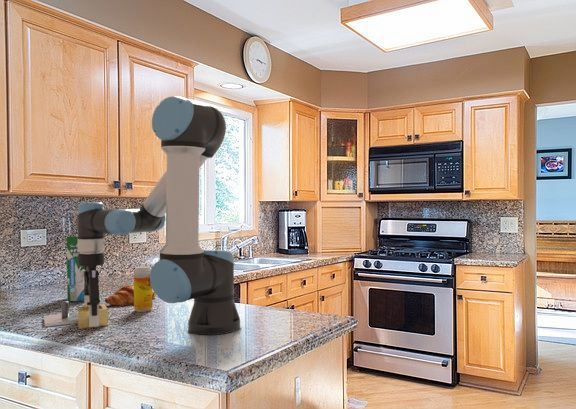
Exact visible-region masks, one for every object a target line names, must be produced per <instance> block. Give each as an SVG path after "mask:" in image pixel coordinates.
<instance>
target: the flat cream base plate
mask: <svg viewBox="0 0 576 409" xmlns="http://www.w3.org/2000/svg"><path fill="white" fill-rule="evenodd" d="M60 304H61V313H56V314H48V315H43V324H44V328H46V327H55V326H64V325H65V326H66V325H72V324H73V325H74V324H77V311H75V312H74V311H73V312H70V302H69V301H68V300H63V301H61V303H60Z"/></svg>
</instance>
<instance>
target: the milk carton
mask: <svg viewBox="0 0 576 409" xmlns="http://www.w3.org/2000/svg"><path fill="white" fill-rule="evenodd" d="M79 253H80V252H78V235H75V236H66V277H67V278H66V282H67V284H66V287H67V289H66V291H67V294H66V295H67V301H75V302H85V296H86V295H85V294H84V271H85V268H84V266H79V265H78V254H79Z"/></svg>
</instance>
